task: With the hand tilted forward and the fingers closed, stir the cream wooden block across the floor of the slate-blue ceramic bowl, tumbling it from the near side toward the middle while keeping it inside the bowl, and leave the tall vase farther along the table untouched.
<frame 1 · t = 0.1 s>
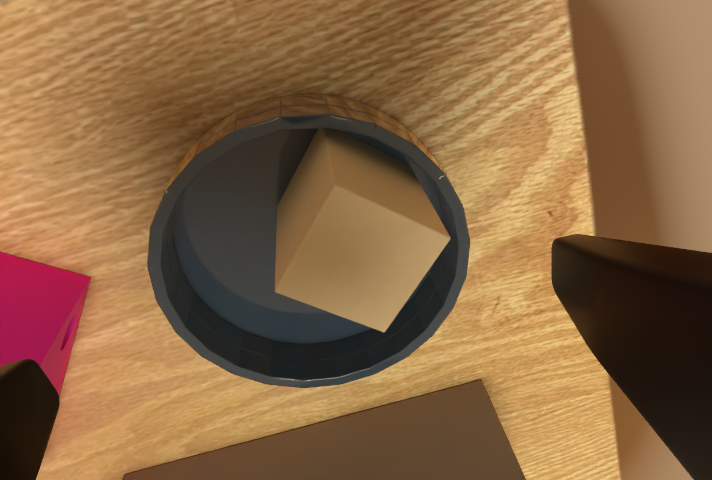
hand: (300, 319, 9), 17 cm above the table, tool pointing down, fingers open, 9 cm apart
toy block: (7, 361, 30), on the table
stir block: (343, 186, 26), resting on bowl
bowl: (311, 236, 28), on the table
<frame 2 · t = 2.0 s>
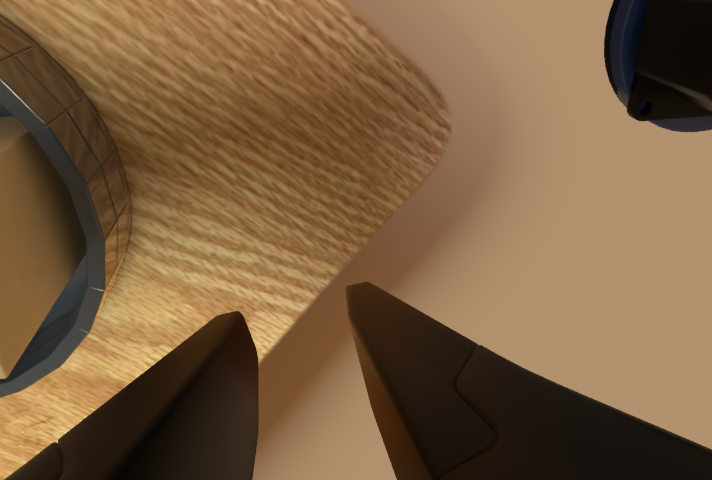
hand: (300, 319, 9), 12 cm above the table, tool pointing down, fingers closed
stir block: (4, 186, 19), resting on bowl
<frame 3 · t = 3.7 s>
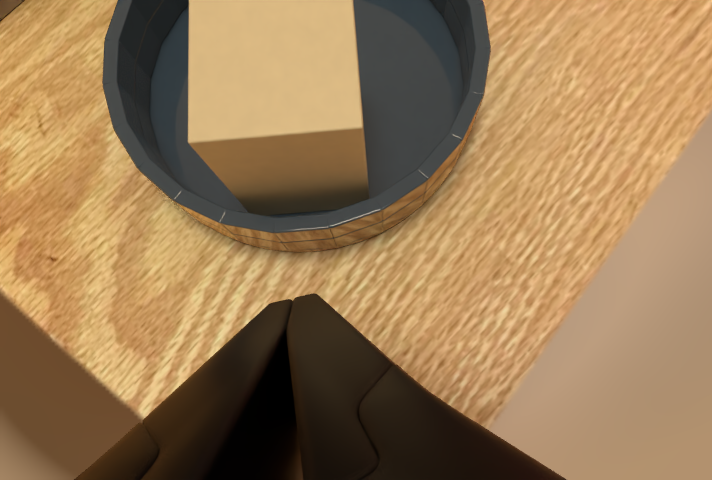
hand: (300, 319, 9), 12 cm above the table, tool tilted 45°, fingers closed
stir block: (308, 156, 23), resting on bowl
bowl: (305, 89, 24), on the table
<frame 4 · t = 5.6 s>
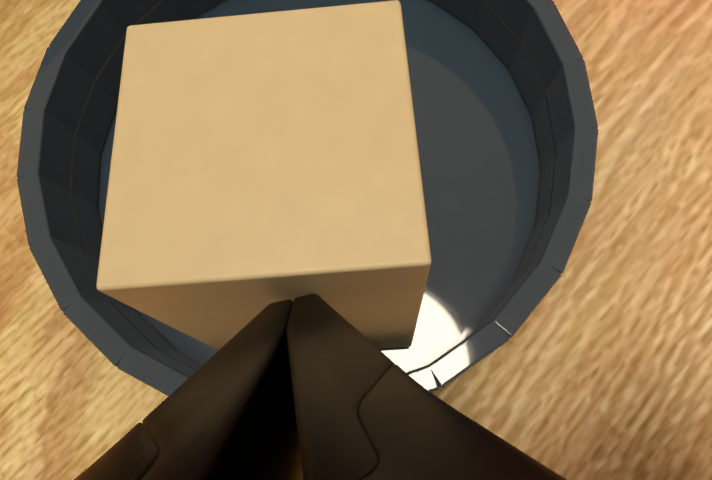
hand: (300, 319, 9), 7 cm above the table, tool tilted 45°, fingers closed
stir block: (319, 268, 16), point 1 cm above the table, tilted 6°, touching bowl
bowl: (316, 169, 17), on the table
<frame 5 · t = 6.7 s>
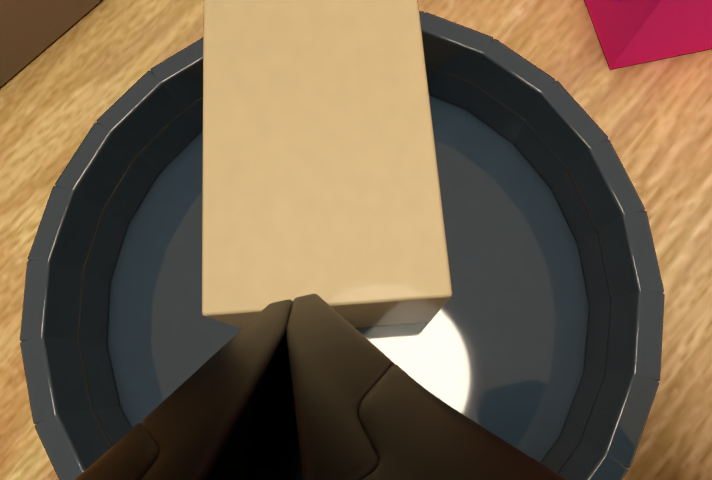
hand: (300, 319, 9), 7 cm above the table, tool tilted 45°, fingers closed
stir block: (337, 319, 13), point 3 cm above the table, tilted 90°, touching bowl
bowl: (343, 297, 16), on the table
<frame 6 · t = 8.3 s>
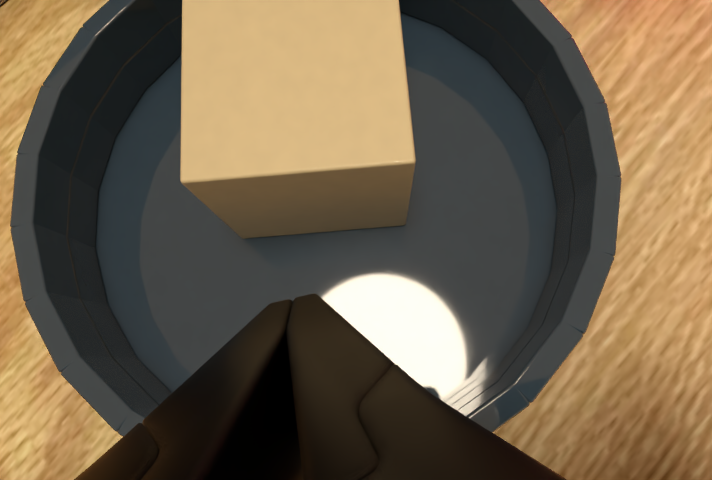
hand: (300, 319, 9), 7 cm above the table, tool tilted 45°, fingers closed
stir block: (312, 208, 13), point 3 cm above the table, tilted 90°, touching bowl
bowl: (323, 206, 16), on the table
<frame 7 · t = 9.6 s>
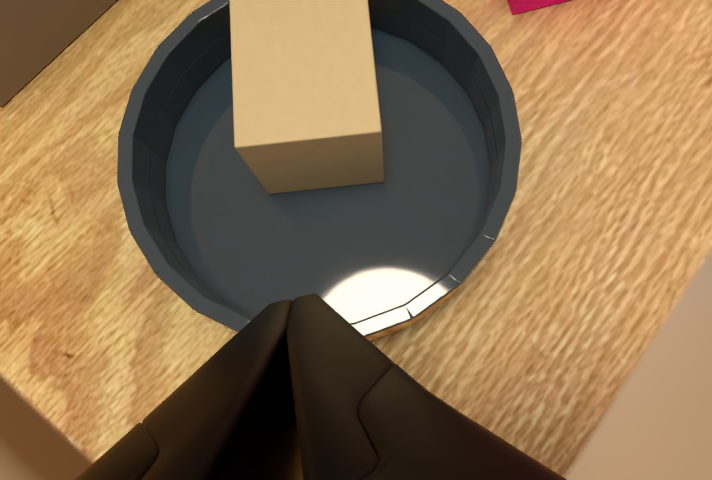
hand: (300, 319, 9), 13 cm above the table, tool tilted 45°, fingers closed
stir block: (317, 167, 20), point 3 cm above the table, tilted 90°, touching bowl
bowl: (325, 171, 23), on the table
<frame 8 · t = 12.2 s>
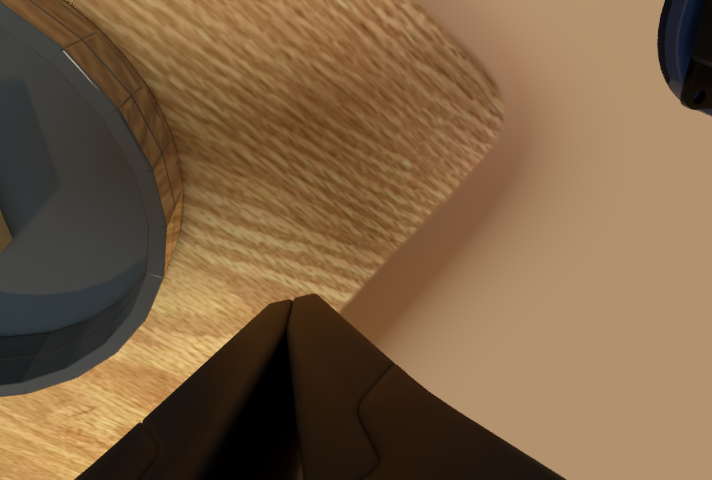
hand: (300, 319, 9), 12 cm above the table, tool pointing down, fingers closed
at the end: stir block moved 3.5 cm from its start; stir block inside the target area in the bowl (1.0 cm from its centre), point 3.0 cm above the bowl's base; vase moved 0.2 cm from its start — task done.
